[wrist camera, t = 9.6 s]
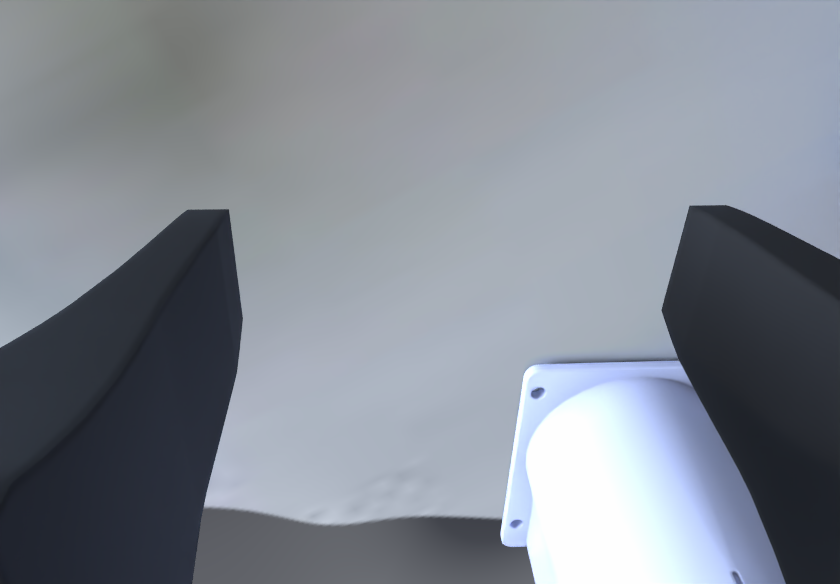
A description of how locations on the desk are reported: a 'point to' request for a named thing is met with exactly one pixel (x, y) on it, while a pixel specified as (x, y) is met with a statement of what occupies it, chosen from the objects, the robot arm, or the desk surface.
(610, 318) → the desk surface
